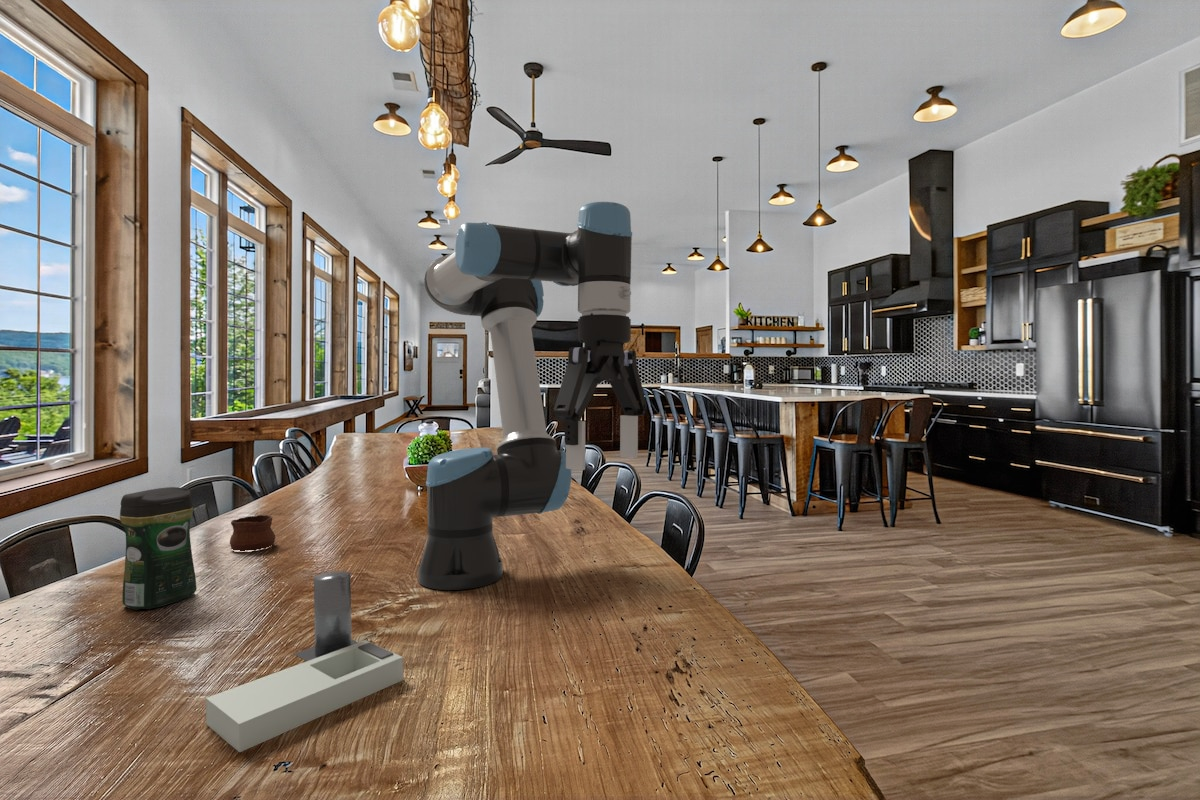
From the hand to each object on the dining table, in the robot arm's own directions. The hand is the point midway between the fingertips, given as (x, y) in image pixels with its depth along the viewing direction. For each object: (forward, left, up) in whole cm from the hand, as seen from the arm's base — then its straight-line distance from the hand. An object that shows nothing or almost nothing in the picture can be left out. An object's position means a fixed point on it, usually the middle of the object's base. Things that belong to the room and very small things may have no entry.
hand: (603, 463), depth 88 cm
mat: (-23, -28, -24) cm, 44 cm away
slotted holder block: (-13, -36, -24) cm, 46 cm away
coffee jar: (-65, -35, -24) cm, 78 cm away
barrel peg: (-23, -28, -24) cm, 44 cm away
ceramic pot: (-88, -11, -25) cm, 92 cm away
